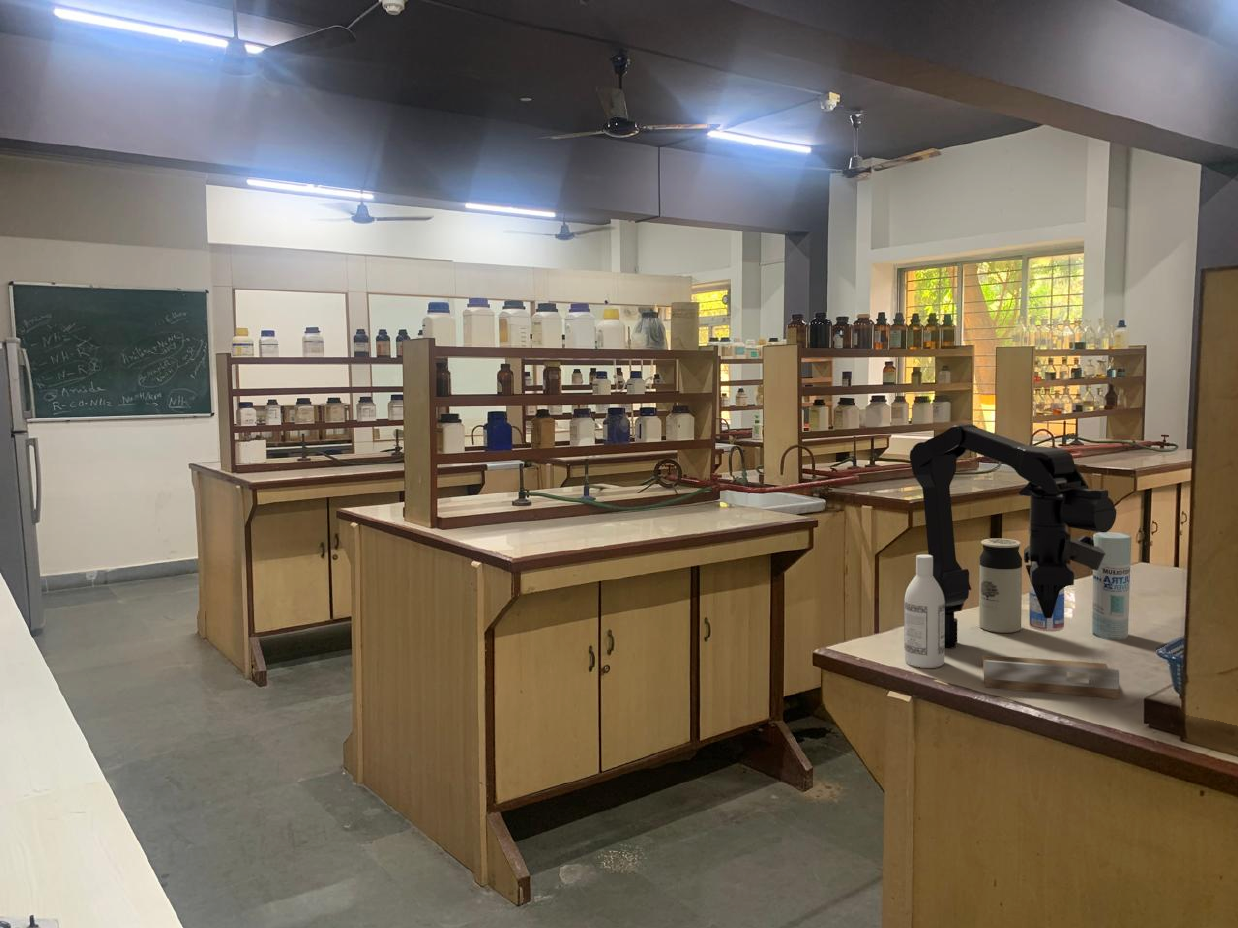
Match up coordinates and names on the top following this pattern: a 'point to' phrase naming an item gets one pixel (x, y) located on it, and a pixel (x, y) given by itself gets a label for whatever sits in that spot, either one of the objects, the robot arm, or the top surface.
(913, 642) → the bath foam
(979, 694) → the top surface
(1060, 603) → the pill bottle
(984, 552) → the travel mug
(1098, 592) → the spray paint can
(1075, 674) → the shelf board
